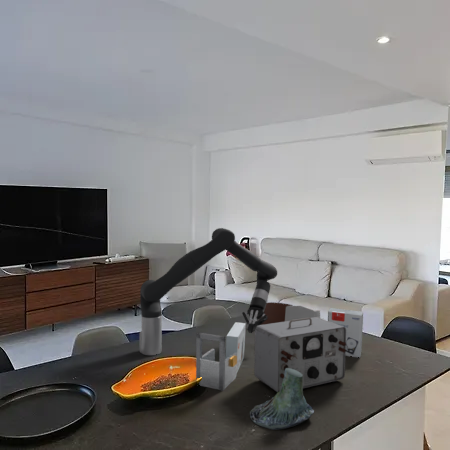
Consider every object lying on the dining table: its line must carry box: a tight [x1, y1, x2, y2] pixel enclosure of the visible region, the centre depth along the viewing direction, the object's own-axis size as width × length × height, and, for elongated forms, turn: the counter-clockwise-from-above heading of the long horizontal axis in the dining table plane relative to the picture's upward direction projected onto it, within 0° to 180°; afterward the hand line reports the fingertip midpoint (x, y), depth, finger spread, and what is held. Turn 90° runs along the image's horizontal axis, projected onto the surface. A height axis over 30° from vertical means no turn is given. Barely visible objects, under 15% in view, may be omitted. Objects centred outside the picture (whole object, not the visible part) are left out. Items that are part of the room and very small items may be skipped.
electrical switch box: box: [285, 305, 321, 321], centre depth 215 cm, size 15×15×20 cm
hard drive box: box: [327, 307, 364, 359], centre depth 200 cm, size 16×8×20 cm, turn 68°
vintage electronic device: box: [253, 317, 346, 393], centre depth 167 cm, size 32×18×25 cm, turn 117°
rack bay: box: [195, 331, 238, 391], centre depth 167 cm, size 12×13×20 cm
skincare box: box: [225, 321, 247, 375], centre depth 184 cm, size 21×6×16 cm, turn 168°
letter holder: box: [261, 301, 294, 325], centre depth 245 cm, size 10×20×14 cm, turn 79°
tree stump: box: [249, 368, 315, 431], centre depth 141 cm, size 18×20×18 cm
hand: (250, 332), depth 199 cm, fingers closed
